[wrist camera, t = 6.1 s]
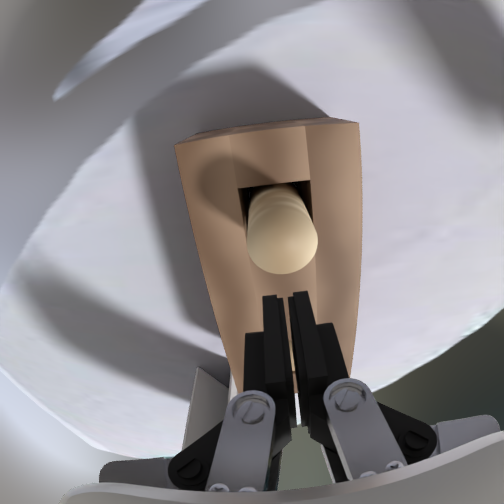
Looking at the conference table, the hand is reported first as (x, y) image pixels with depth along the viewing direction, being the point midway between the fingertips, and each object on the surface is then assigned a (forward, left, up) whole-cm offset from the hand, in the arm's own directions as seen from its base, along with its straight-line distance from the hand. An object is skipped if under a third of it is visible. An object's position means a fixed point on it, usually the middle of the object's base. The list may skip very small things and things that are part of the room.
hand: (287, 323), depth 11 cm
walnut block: (0, +7, -19) cm, 20 cm away
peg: (0, 0, -14) cm, 14 cm away
